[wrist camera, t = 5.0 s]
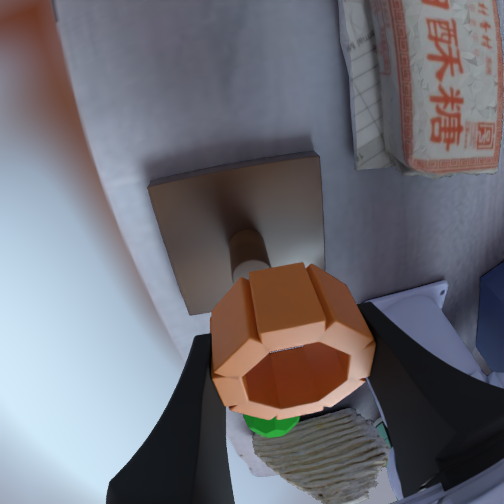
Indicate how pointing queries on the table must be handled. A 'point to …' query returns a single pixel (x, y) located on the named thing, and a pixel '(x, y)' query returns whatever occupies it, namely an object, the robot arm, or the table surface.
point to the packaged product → (424, 84)
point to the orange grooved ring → (288, 343)
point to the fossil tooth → (328, 456)
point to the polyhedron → (270, 425)
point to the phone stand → (492, 319)
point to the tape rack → (239, 222)
